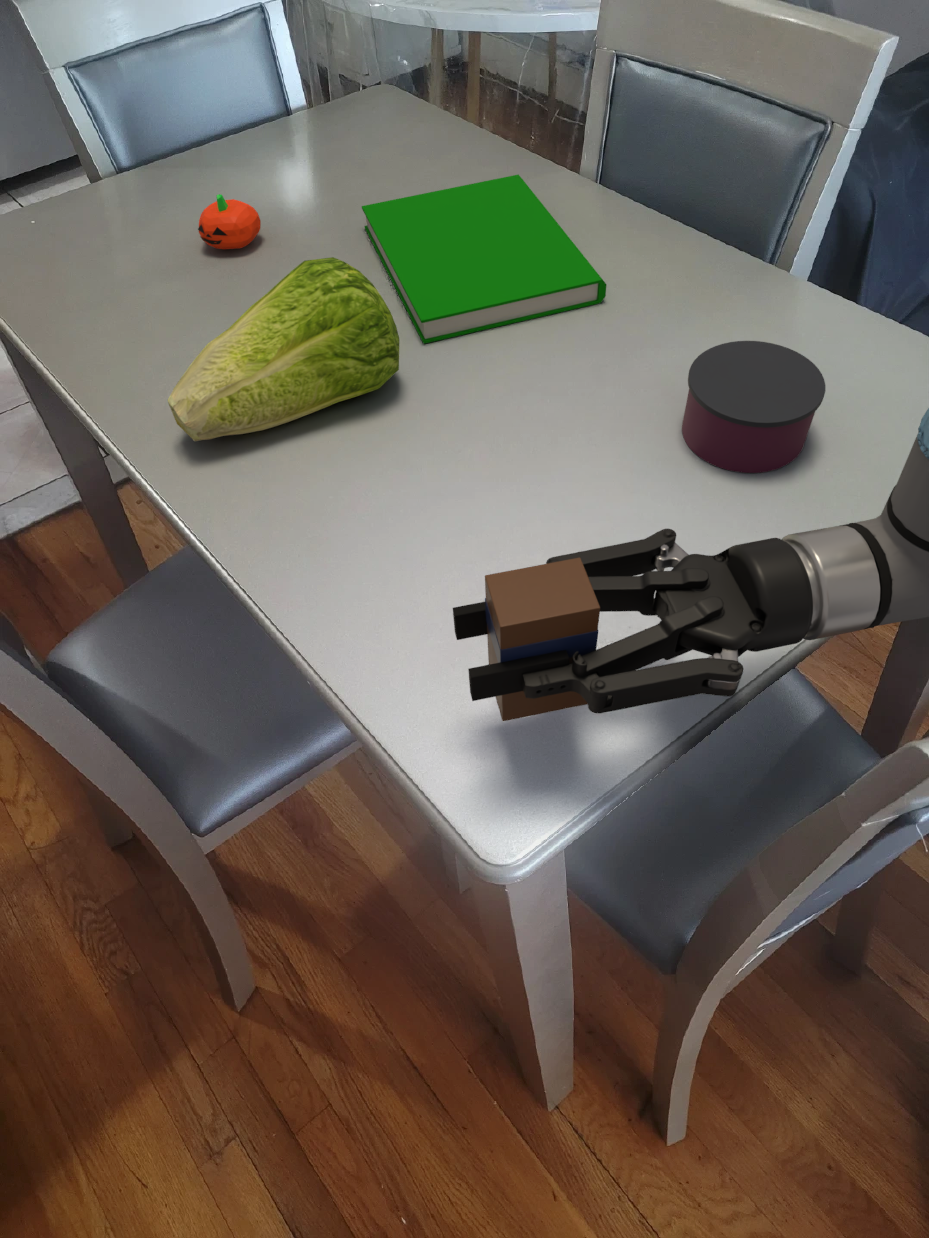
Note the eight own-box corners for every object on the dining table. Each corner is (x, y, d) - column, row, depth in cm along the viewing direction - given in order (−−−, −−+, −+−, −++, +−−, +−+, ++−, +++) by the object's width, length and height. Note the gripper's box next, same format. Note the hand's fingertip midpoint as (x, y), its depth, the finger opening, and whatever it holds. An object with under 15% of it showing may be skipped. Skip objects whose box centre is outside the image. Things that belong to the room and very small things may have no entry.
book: (423, 343, 99) (421, 320, 97) (364, 228, 116) (361, 206, 113) (604, 302, 102) (607, 278, 100) (522, 196, 119) (522, 173, 117)
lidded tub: (833, 432, 86) (852, 379, 81) (755, 494, 82) (771, 441, 77) (730, 377, 93) (743, 325, 88) (652, 432, 88) (661, 380, 83)
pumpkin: (265, 254, 113) (253, 205, 108) (203, 261, 112) (188, 212, 107) (265, 227, 117) (254, 179, 112) (206, 233, 117) (192, 185, 112)
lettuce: (232, 505, 88) (183, 439, 97) (427, 383, 93) (363, 330, 101) (163, 397, 77) (114, 333, 86) (388, 264, 82) (320, 217, 90)
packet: (572, 655, 65) (581, 556, 56) (589, 704, 62) (601, 608, 54) (488, 672, 64) (483, 574, 56) (501, 722, 62) (499, 627, 53)
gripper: (833, 723, 58) (492, 795, 56) (730, 538, 68) (441, 592, 66) (869, 657, 52) (489, 735, 50) (750, 466, 63) (434, 523, 61)
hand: (463, 653), depth 58 cm, fingers closed on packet, 4 cm apart
